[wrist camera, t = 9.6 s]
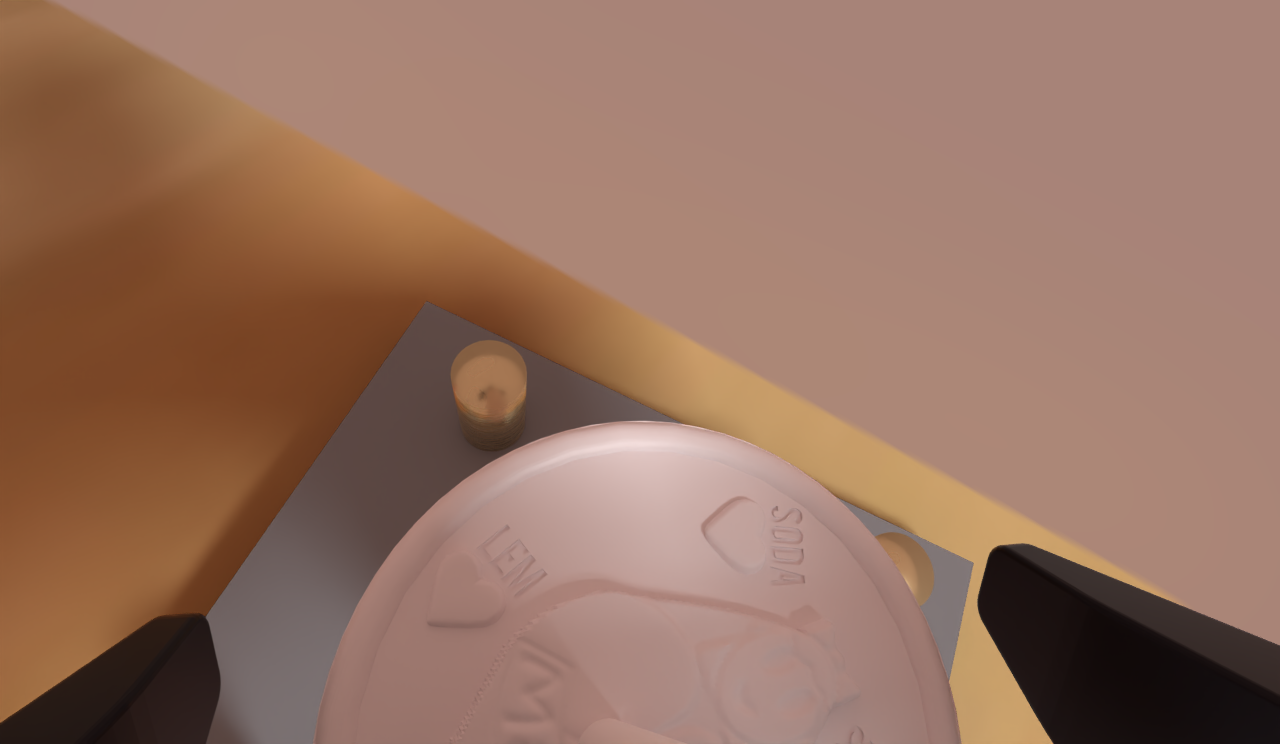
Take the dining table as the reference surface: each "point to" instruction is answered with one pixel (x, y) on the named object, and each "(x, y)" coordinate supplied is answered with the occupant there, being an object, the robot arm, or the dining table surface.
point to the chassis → (405, 490)
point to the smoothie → (638, 608)
